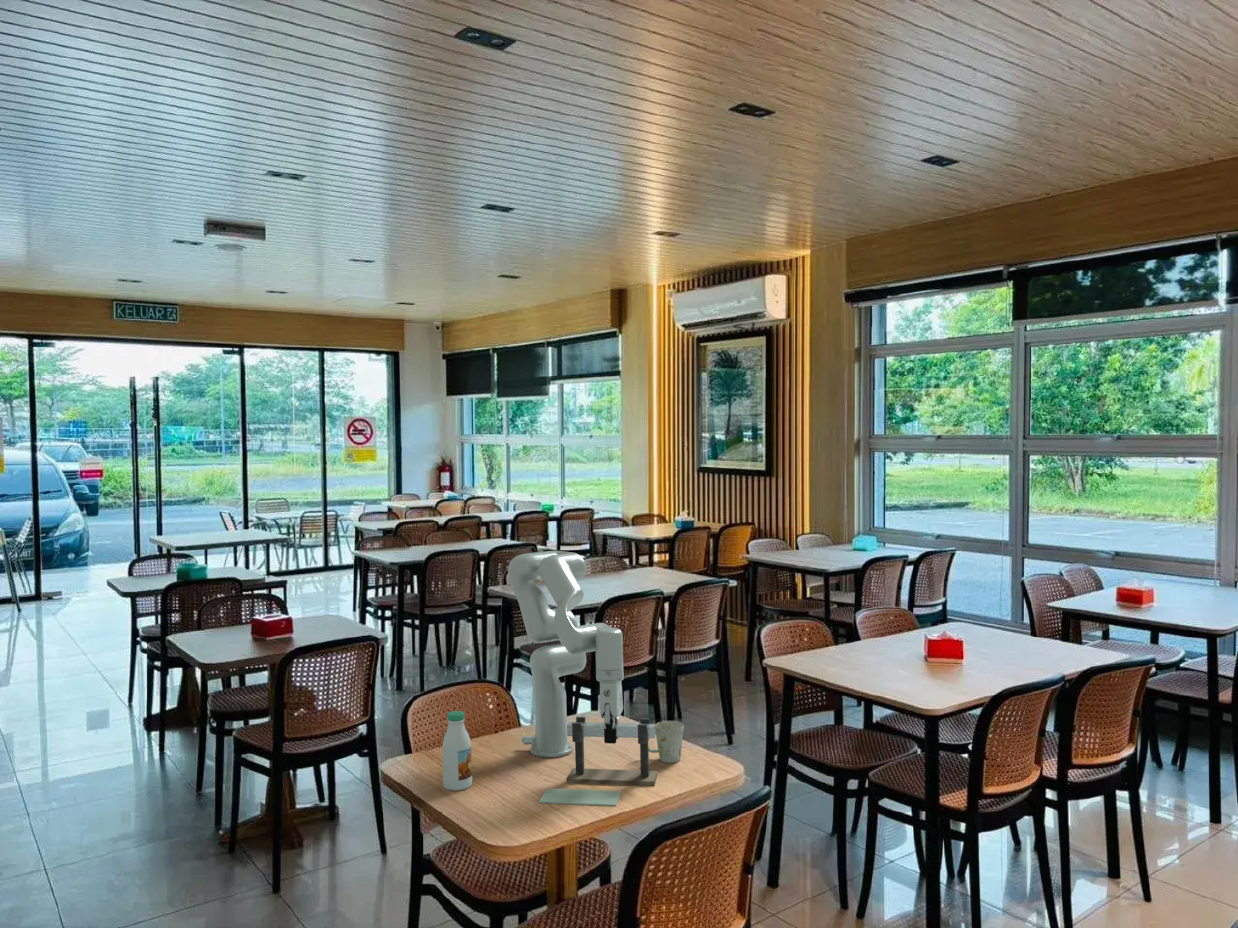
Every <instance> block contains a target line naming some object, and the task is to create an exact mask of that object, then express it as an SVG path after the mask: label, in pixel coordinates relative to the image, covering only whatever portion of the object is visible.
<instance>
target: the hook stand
mask: <svg viewBox="0 0 1238 928" xmlns="http://www.w3.org/2000/svg"><path fill="white" fill-rule="evenodd" d="M575 722H586V716H576V717H575ZM650 722H651V721H650V717H649V718H647V717H641V718H640V723H637V724H638V738H637V744H639V751H640V752H639V754H640V755H639V756H640V760H639V761H640V763H639V764H640V769H615V768H614V769H612V768H611V769H608V768H585V747H584V744H585V743H584V740H585V739H584V738H585V737H582V724H581V723H572V736H571V737H572V742H573V743H574V750H575V751H574V755H575V756H574V757H575V759H574V760H575V761H574V762H575V767H573V768H571V770H570V772H569V773H568V775H567V777H566V779H565V780H566V783H567V784H587V785H588V784H589V785H611V786H612V785H617V786H641V787H642V786H643V787H644V786H645V787H646V786H647V787H648V786H649V787H654V786H655V784H656V781H657V778H658V773H659V772H658V770H650V762H649V761H650V756H649V755H650V754H649V753H650V752H649V750H648V747H649V739H650V738H647V724H651V723H650Z"/></svg>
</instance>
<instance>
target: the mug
mask: <svg viewBox="0 0 1238 928" xmlns="http://www.w3.org/2000/svg"><path fill="white" fill-rule="evenodd" d="M655 729H656V735H655V738H656V743H657V744H656V745H657V749H651V748H650V747H649V746H648V750H649V753H653V754H658V755H659V761H661V762H662V763H666V764H667V763H668V764H673V763H678V762H680V761H681V758H682V749H683V738H684V730H685V727H684V723H682V722H680V721H677V720H664V721H659V722H657V723H655Z"/></svg>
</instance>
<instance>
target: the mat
mask: <svg viewBox="0 0 1238 928" xmlns="http://www.w3.org/2000/svg"><path fill="white" fill-rule="evenodd" d="M622 793H623V792H622V790H600V789H598V790H597V789H596V790H595V789H594V790H593V789H572V788H571V789H570V788H569V789H567V788H566V789H565V788H546V790H545V792H544V793H543V795H542V797H540V800H539V802H538V803H539V804H547V803H548V805H549V804H550V805H551V804H553V805H576V806H581V805H582V806H599V807H600V806H602V807H617V805H618V802H619V800H620V798H621V795H622Z"/></svg>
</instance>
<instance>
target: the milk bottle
mask: <svg viewBox="0 0 1238 928" xmlns="http://www.w3.org/2000/svg"><path fill="white" fill-rule="evenodd" d="M446 716H447V717H446V719H447V723H448V725H447V729H446V732H445V735H444V736H443V740H442V786H443V788H444V789H445V790H447V791H451V792H452V791H456V792H457V791H463V790H467V789H468V788H470V787H471V786H472V784H473V770H472V769H473V768H472V767H473V766H472V764H473V763H472V762H473V761H472V743H471V738H470V735H469V733H468V731H467V729H466V726H465V723H464V722H465V712H464V711H462V710H454V711H450V712H447V715H446Z"/></svg>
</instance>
